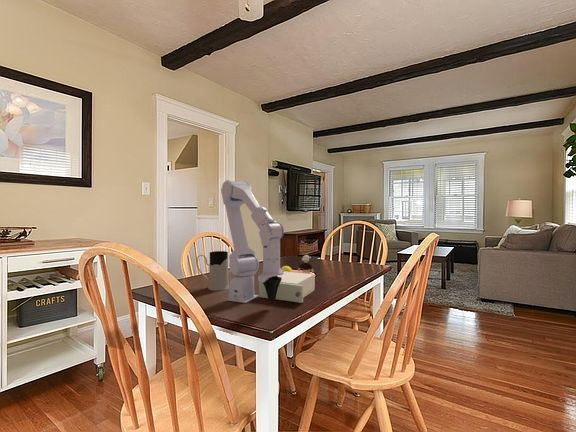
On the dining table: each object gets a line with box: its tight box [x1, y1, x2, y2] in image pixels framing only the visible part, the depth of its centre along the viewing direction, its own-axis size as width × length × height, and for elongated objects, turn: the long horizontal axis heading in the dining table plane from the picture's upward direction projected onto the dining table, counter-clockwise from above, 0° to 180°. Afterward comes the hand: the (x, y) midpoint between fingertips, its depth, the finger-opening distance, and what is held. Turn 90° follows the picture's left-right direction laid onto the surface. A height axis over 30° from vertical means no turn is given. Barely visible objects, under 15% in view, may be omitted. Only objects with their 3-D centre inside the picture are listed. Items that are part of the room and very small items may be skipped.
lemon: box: [281, 265, 293, 272], centre depth 155 cm, size 7×5×5 cm
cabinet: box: [278, 271, 316, 299], centre depth 125 cm, size 18×15×6 cm
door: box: [258, 282, 304, 304], centre depth 115 cm, size 2×17×6 cm, turn 65°
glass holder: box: [196, 250, 229, 291], centre depth 134 cm, size 9×14×15 cm, turn 81°
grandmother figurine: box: [297, 254, 315, 274], centre depth 141 cm, size 8×4×13 cm, turn 74°
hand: (271, 299), depth 107 cm, fingers closed
